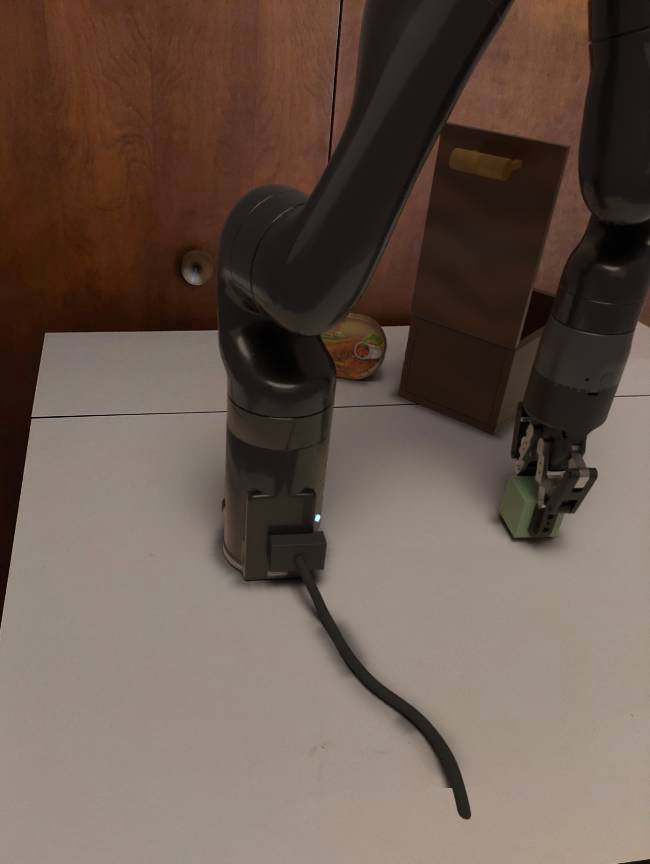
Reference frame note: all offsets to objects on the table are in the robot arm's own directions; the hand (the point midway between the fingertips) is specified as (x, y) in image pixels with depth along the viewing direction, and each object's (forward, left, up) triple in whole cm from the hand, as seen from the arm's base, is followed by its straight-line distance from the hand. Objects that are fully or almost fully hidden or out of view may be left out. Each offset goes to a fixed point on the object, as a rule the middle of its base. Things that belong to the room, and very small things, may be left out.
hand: (529, 519), depth 82 cm
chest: (+31, -6, -1) cm, 31 cm away
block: (0, 0, -1) cm, 1 cm away
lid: (+24, +1, +21) cm, 32 cm away
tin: (+37, +14, -2) cm, 39 cm away
